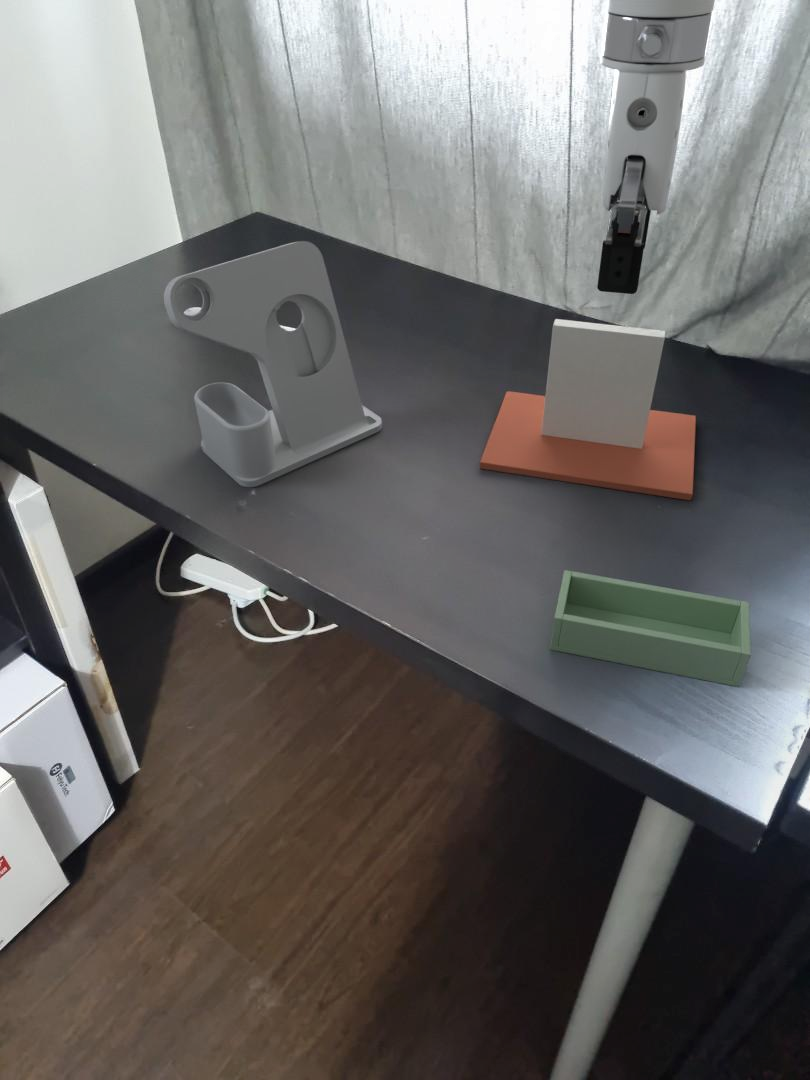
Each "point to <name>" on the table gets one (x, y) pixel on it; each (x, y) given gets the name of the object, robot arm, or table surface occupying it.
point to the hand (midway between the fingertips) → (621, 268)
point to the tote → (652, 627)
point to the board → (601, 382)
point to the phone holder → (274, 364)
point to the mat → (593, 452)
